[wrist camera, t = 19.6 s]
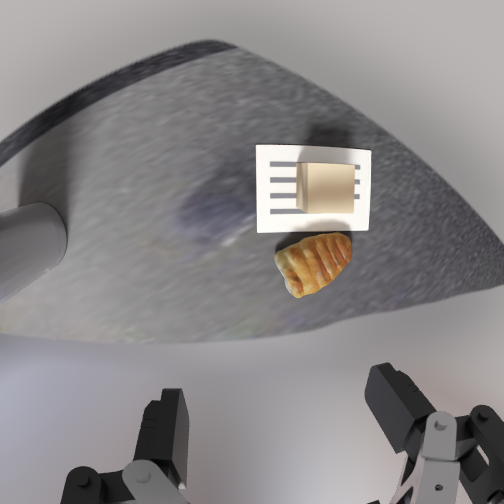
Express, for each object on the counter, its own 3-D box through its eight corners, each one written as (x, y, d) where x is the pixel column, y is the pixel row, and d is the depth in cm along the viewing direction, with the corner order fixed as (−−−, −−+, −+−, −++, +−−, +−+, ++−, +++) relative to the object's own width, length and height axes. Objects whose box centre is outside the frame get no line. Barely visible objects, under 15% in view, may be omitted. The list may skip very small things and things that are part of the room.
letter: (257, 232, 33) (257, 232, 33) (255, 144, 31) (256, 144, 30) (367, 230, 34) (368, 230, 34) (370, 150, 31) (371, 150, 31)
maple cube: (296, 163, 31) (307, 162, 27) (337, 164, 32) (354, 165, 27) (296, 206, 33) (307, 213, 28) (336, 206, 33) (353, 213, 28)
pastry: (336, 216, 34) (348, 222, 30) (355, 262, 36) (368, 272, 32) (268, 253, 34) (272, 263, 31) (292, 297, 36) (298, 311, 33)
